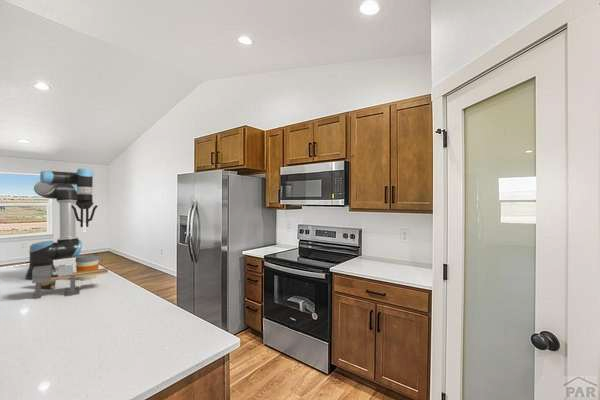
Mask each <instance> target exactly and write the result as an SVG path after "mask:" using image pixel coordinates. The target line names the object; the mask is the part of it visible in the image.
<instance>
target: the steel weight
mask: <svg viewBox="0 0 600 400" xmlns="http://www.w3.org/2000/svg"><path fill="white" fill-rule="evenodd" d="M57 272H58V277H62V276H70V275H73V272H74V264H73V263H67V264H58V267H57Z"/></svg>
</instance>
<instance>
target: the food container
mask: <svg viewBox="0 0 600 400" xmlns="http://www.w3.org/2000/svg"><path fill="white" fill-rule="evenodd" d="M57 274H58V269H56V270H52V275H57ZM56 281H57V280H55V281H48V282H41V291H42V290H44V291H45V290H46V291H52V290H54V289H56Z"/></svg>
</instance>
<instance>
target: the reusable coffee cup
mask: <svg viewBox="0 0 600 400" xmlns="http://www.w3.org/2000/svg"><path fill="white" fill-rule="evenodd" d="M99 260H100V254H98V253H97V254H96V253H92V254H91V253H89V254H81V255H80V254H79V255H78V256H76V257H75V263H76V265H75V271H76V272H80V271H88V270H96V269H99V266H100V262H99ZM77 278H78V281H90V280H95V279H96V278H97V275H91V276H84V277H77Z"/></svg>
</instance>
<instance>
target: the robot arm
mask: <svg viewBox="0 0 600 400" xmlns="http://www.w3.org/2000/svg"><path fill="white" fill-rule="evenodd" d="M93 172H94V171H93V170H92V169H90V168H77V170H76V172H70V171H69V172H68V171H57V170H55V171H54V170H41V171H40V174H39V175H40V176H39V181H37V182H36V183H35V184H34V186H33V191H34V192H35V194H37V195H38V196H40V197H42V198H45V199H53V200H54V199H56V202H57V203H58V204H59V238H57V240H56V242H55V241H54V240H44V241H38V242H35V243H32V244H31V245H30V246H29V251H28V253H29V264H28V265H29V267H28V269H27V271H26V274H25V280H31V281H32V270H33V269H34V267H41V266H50V265H52V270H57V269H56V267H55V264H54V260H59V259H61V260H62V259H69V258H70V259H72V258H76V257H77V256H80V254H81V251H82V246H83V243H82V240H80V239H79V237H78V236H77V235H76V234H77V232H76V231H77V230H76V229H77V227H76V221H77V222H80V225H79V226H80V228H82V233H83V234H85V233H87V228H88V227H89V222H91V221H92V220H93V218H94V215H95V212H96V209H97V208H98V207H99V206H98V205H96V204H95V203H94V202H93V192H94V190H93V187H94V186H93V185H94V184H93V181H94V180H93V179H94V178H93V177H94V173H93ZM77 208H79V210H80V218H79V214H78V211H77ZM91 208H92V211H91V214H90V216H89V212H90V210H89V209H91ZM84 210H85V221H84Z"/></svg>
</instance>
